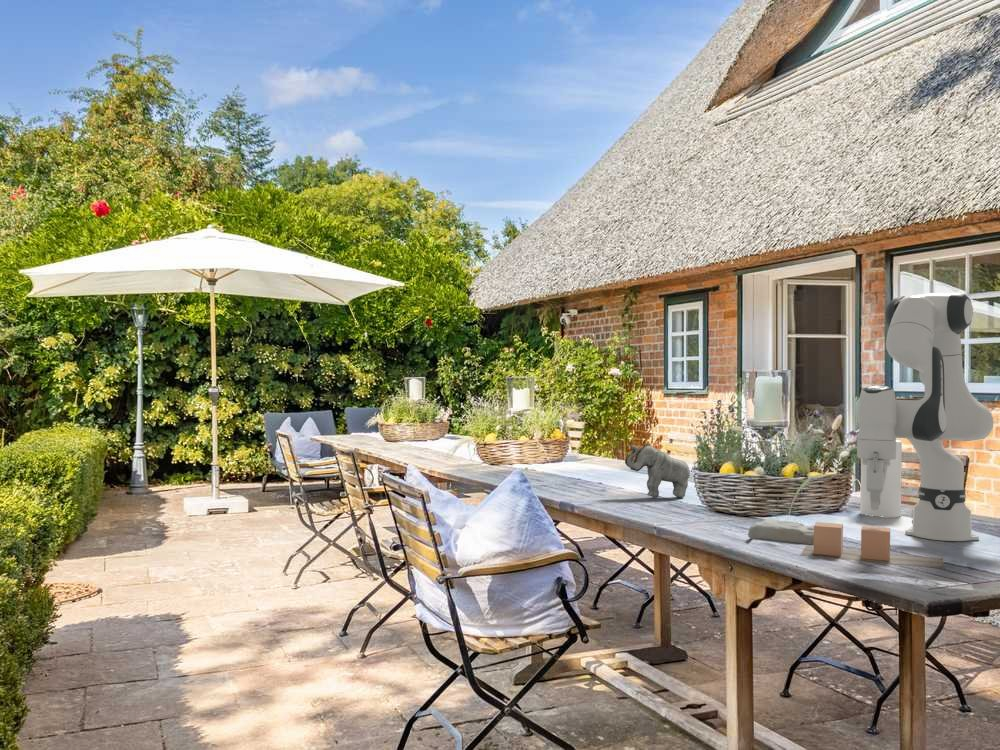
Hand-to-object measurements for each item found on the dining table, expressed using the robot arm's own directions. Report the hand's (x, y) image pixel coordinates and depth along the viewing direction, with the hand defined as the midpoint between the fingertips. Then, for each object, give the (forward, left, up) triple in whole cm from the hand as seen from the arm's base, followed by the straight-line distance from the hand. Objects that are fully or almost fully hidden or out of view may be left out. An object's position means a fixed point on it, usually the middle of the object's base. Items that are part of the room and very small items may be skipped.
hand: (875, 507), depth 212 cm
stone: (-17, -23, -14) cm, 32 cm away
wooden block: (0, 0, -12) cm, 12 cm away
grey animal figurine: (-85, -78, -14) cm, 116 cm away
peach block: (0, -11, -12) cm, 16 cm away
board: (0, -1, -14) cm, 14 cm away
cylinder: (-84, -1, -14) cm, 85 cm away
